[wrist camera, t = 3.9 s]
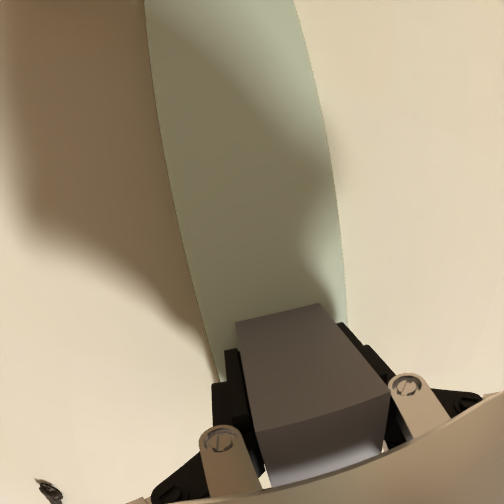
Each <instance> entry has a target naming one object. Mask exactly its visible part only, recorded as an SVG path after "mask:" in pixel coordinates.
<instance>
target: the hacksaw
mask: <svg viewBox="0 0 504 504" xmlns="http://www.w3.org/2000/svg"><path fill="white" fill-rule="evenodd" d="M39 490H40V491H41V492H42V494H43V495H45V497H46V498H47V499H48V500H49V501H50V503H51V504H62V502H61V499H63V496H62V494H61V493H60V491H59V490H58V489H56V488H54V487H51V486H49V485H46V484H43V483H41V484H40V487H39Z"/></svg>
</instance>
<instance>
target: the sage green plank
mask: <svg viewBox="0 0 504 504" xmlns="http://www.w3.org/2000/svg"><path fill="white" fill-rule="evenodd" d="M144 8H145V19H146V30H147V40H148V49H149V57H150V65H151V73H152V81H153V88H154V95H155V102H156V108H157V115H158V121H159V127H160V133H161V139H162V145H163V150H164V156H165V161H166V167H167V172H168V177H169V182H170V187H171V192H172V197H173V202H174V206H175V211H176V216H177V220H178V225H179V229H180V234H181V238H182V242H183V247H184V251H185V255H186V259H187V263H188V268H189V272H190V276H191V280H192V284H193V287H194V291H195V295H196V299H197V303H198V306H199V310H200V314H201V317H202V321H203V325H204V328H205V332H206V335H207V339H208V342H209V346H210V349H211V353H212V356H213V359H214V363H215V366H216V369H217V372H218V376H219V379H220V382H224V381H227V379H226V368H225V358H224V350H228V349H233V348H237V350H238V351H240V354H241V360H242V365H243V371H244V376H245V382H246V387H247V393H248V398H249V403H250V409H251V414H252V419H253V424H254V429H255V434H256V437H257V440H258V444H259V447H260V450H261V454H262V457H263V460H264V464H265V467H266V470H267V473H268V477H269V480H270V483H271V486H272V487H276V486H281V485H285V484H289V483H293V482H297V481H301V480H305V479H308V478H312V477H315V476H319V475H322V474H325V473H329V472H332V471H335V470H338V469H341V468H344V467H347V466H350V465H352V464H355V463H358V462H360V461H363V460H366V459H368V458H371V457H373V456H376V455H378V454H381V451H382V446H383V441H384V435H385V430H386V424H387V417H388V410H389V403H390V395H391V390H390V389H389V388H388V387H387V385H386V384H385V383H384V382H383V380H382V379H381V378H380V377H379V375H378V374H377V373H376V372H375V371H374V369H373V368H372V367H371V366H370V364H369V363H368V362H367V361H366V359H365V358H364V357H363V356H362V355H361V353H360V352H359V351H358V350H357V348H356V347H355V346H354V345H353V344H352V342H351V341H350V340H349V339H348V337H347V336H346V335H345V334H344V333H343V331H342V330H341V329H340V328H339V327H338V325H337V324H336V323H340V322H343V323H344V324H345V325H346V326H347V327H348V318H347V301H346V286H345V273H344V262H343V251H342V242H341V232H340V224H339V215H338V208H337V200H336V193H335V186H334V179H333V173H332V166H331V160H330V154H329V148H328V143H327V137H326V132H325V127H324V121H323V116H322V111H321V107H320V102H319V97H318V93H317V88H316V84H315V79H314V75H313V71H312V67H311V63H310V59H309V55H308V51H307V47H306V43H305V40H304V36H303V32H302V29H301V25H300V22H299V18H298V15H297V11H296V8H295V5H294V2H293V0H144Z"/></svg>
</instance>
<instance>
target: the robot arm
mask: <svg viewBox="0 0 504 504" xmlns="http://www.w3.org/2000/svg"><path fill="white" fill-rule="evenodd" d="M336 324H337V325H338V327H339V328H340V329H341V330H342V331H343V333H344V334H345V335H346V336H347V337H348V339H349V340H350V341H351V342H352V344H353V345H354V346H355V347H356V348H357V350H358V351H359V352H360V353H361V355H362V356H363V357H364V358H365V359H366V361H367V362H368V363H369V364H370V366H371V367H372V368H373V369H374V371H375V372H376V373H377V374H378V375H379V377H380V378H381V379H382V380H383V382H384V383H385V384H386V385H387V387H388V388H389V389H390V390H391V395H390V403H389V410H388V417H387V424H386V430H385V435H384V441H383V446H382V447H383V449H384V452H383V453H381V454H378V455H376V456H373V457H371V458H368V459H366V460H363V461H360V462H358V463H355V464H352V465H350V466H347V467H344V468H341V469H338V470H335V471H332V472H329V473H325V474H322V475H319V476H315V477H312V478H308V479H305V480H301V481H297V482H293V483H289V484H285V485H281V486H276V487H272V488H267V489H262V486H261V484H260V482H259V479H258V478H259V477H260V476H261V475H262V474H263V473H264V472H265V467H264V460H263V457H262V454H261V450H260V447H259V444H258V440H257V437H256V434H255V429H254V424H253V419H252V414H251V409H250V403H249V398H248V393H247V387H246V382H245V376H244V371H243V365H242V360H241V354H240V351H238V350H237V348H233V349H228V350H224V358H225V368H226V379H227V381H224V382H219V383H213V384H212V386H211V389H212V416H213V427H211V428H209V429H208V430H206V431H205V432H204V433H203V434H202V435H201V436H200V439H199V449H200V452H198V453H197V454H196V455H195V456H194V457H193V458H191V459H190V460H189V461H188V462H187V463H185V464H184V465H183V466H182V467H180V468H179V469H178V470H177V471H176V472H174V473H173V474H172V475H170V476H169V477H168V478H167V479H165V480H164V481H163V482H161V483H160V484H159V485H158V486H157V487H156V488H155V489H154V490H153V492H152V494H151V496H150V497H148V498H146V499H144V498H143V497H141V498H138V499H136V500H134V501H131V502H129V503H126V504H504V391H502V392H497V393H490V394H484V395H483V398H481V397H480V396H479V395H477V394H475V393H471V392H461V391H450V390H441V389H432V388H430V387H429V386H428V384H427V383H426V382H425V380H424V379H423V378H422V377H421V376H419V375H417V374H413V373H403V374H399V375H395V373H394V372H393V371H392V370H391V369H390V368H389V367H388V366H387V365H386V363H385V362H384V361H383V360H382V359H381V358H380V357H379V356H378V354H377V353H376V352H375V351H374V350H373V349H372V348H371V347H370V346H369V345H363V344H362V343H361V342H360V341H359V340H358V339H357V337H356V336H355V335H354V334H353V333H352V332H351V331H350V330H349V328H348V327H347V326H346V325H345V324H344V323H343V322H340V323H336Z"/></svg>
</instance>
